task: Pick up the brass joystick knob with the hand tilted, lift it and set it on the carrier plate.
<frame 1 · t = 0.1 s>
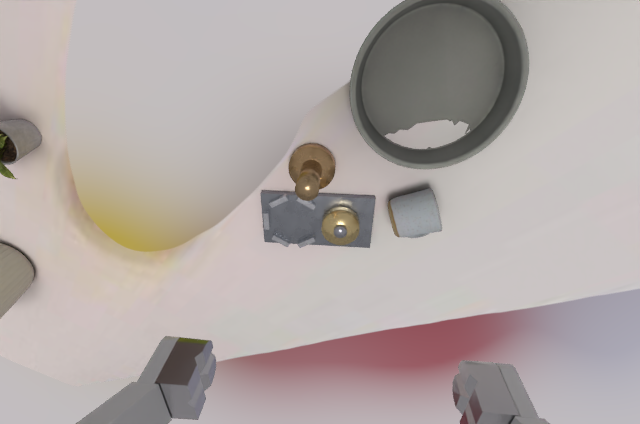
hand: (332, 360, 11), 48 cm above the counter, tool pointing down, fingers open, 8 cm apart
carrier plate: (317, 218, 65), on the counter
house plant: (28, 126, 60), on the counter
cake pan: (429, 84, 52), on the counter
canister: (10, 261, 77), on the counter
ceramic mug: (413, 208, 63), on the counter
brass joystick knob: (312, 165, 59), on the counter
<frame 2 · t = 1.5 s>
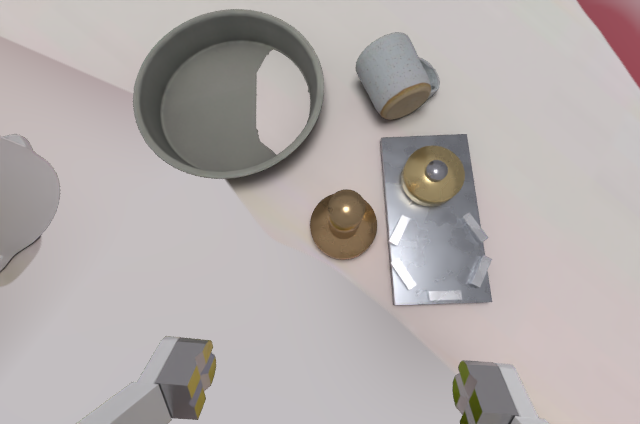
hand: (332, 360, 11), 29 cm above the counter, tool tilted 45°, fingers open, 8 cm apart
carrier plate: (430, 216, 42), on the counter
cake pan: (237, 107, 47), on the counter
ceramic mug: (396, 92, 47), on the counter
brass joystick knob: (342, 227, 42), on the counter
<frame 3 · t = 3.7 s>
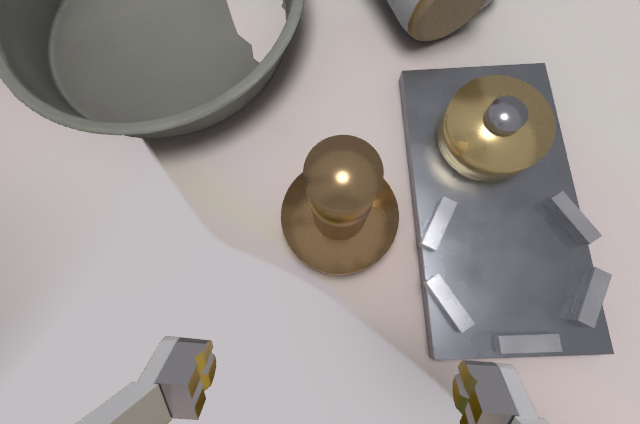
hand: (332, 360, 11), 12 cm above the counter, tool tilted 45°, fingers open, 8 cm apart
carrier plate: (487, 200, 25), on the counter
cake pan: (172, 32, 30), on the counter
ceramic mug: (430, 3, 29), on the counter
brass joystick knob: (339, 220, 25), on the counter
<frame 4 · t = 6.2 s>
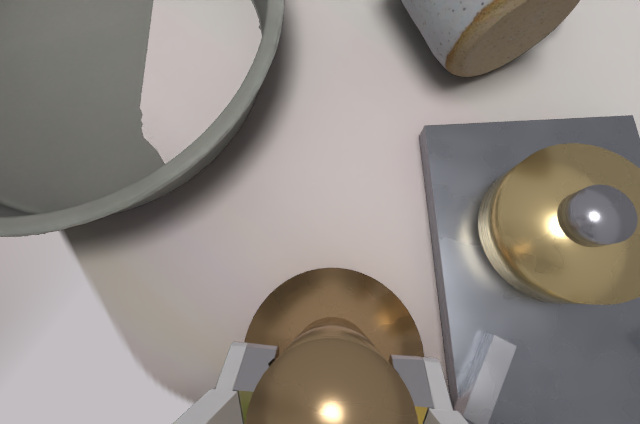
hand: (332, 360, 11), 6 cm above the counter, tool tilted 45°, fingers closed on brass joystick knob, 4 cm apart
carrier plate: (554, 324, 16), on the counter
cake pan: (107, 64, 22), on the counter
ceramic mug: (469, 21, 21), on the counter
brass joystick knob: (332, 352, 17), on the counter, touching gripper
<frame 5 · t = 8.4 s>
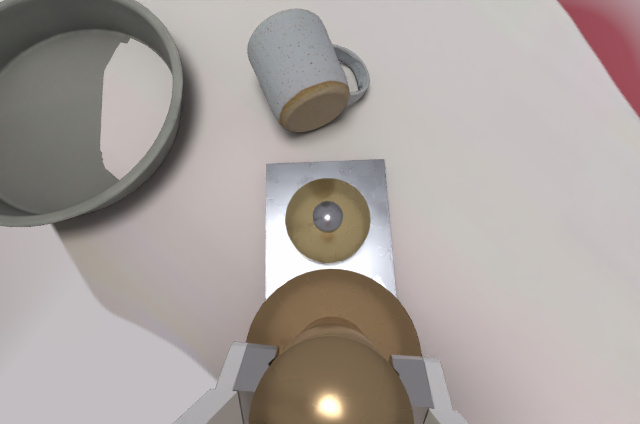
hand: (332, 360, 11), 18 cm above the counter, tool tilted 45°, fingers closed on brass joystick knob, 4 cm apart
carrier plate: (329, 276, 30), on the counter
cake pan: (82, 119, 35), on the counter
ceramic mug: (314, 93, 35), on the counter
brass joystick knob: (332, 351, 17), point 12 cm above the counter, touching gripper
when the fingers open (8 cm above the counter, at t = 10.9 s): brass joystick knob stays where it is, resting on carrier plate.
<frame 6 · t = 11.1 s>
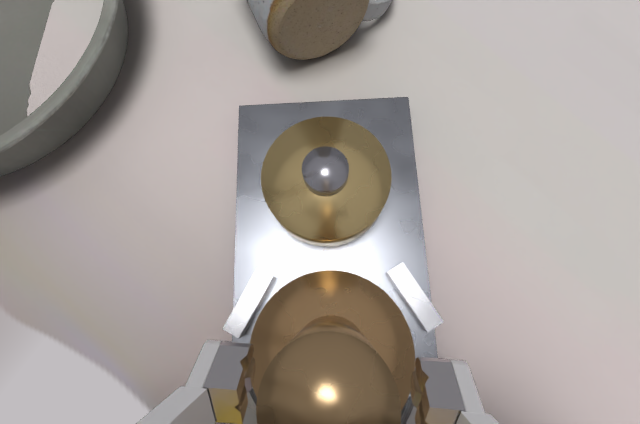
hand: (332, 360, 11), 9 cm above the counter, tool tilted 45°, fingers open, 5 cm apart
carrier plate: (329, 265, 20), on the counter
ceramic mug: (318, 14, 25), on the counter
brass joystick knob: (331, 348, 18), point 1 cm above the counter, touching carrier plate
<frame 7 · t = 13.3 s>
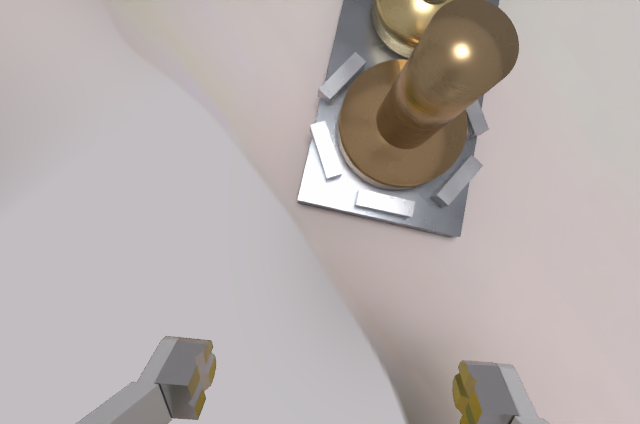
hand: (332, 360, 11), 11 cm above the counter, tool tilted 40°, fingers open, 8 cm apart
carrier plate: (403, 80, 24), on the counter
brass joystick knob: (395, 131, 23), point 1 cm above the counter, touching carrier plate
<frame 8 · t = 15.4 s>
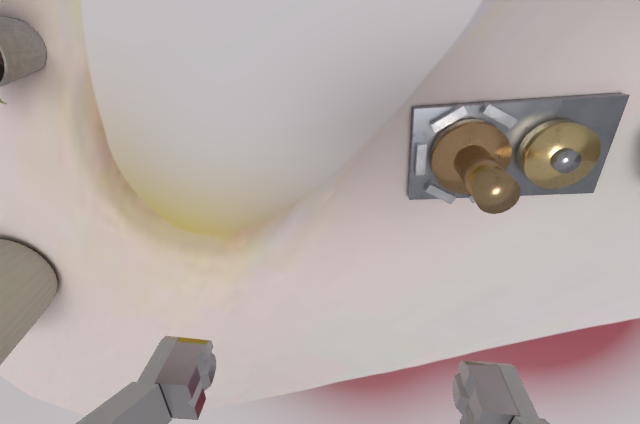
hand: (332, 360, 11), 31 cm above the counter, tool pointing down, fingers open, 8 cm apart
carrier plate: (503, 149, 38), on the counter
house plant: (23, 32, 36), on the counter
canister: (23, 266, 54), on the counter
brass joystick knob: (466, 154, 38), point 1 cm above the counter, touching carrier plate
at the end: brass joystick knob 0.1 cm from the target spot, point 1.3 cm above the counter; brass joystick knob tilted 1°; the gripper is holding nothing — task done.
